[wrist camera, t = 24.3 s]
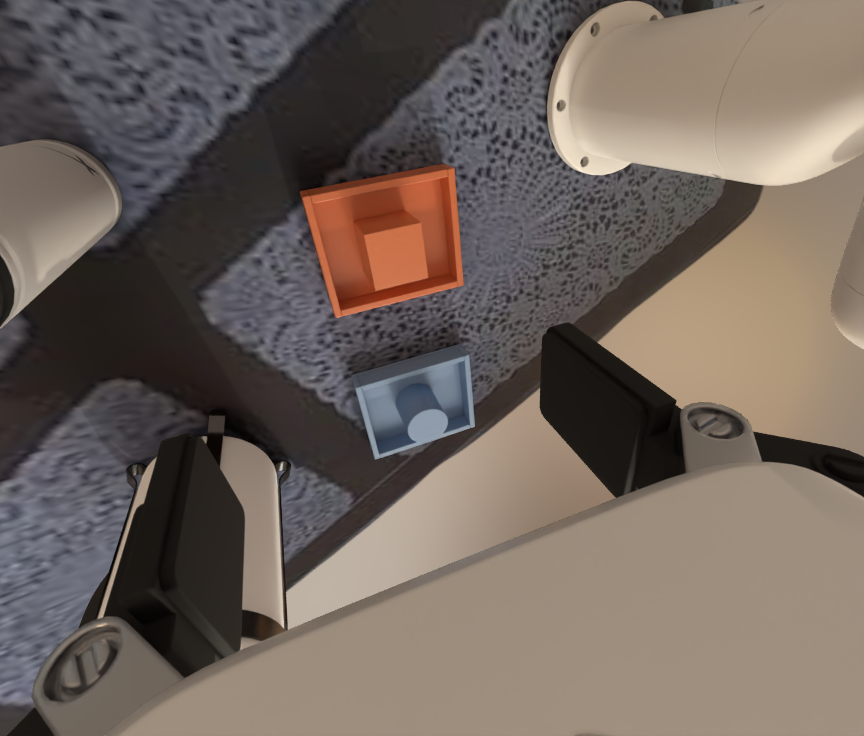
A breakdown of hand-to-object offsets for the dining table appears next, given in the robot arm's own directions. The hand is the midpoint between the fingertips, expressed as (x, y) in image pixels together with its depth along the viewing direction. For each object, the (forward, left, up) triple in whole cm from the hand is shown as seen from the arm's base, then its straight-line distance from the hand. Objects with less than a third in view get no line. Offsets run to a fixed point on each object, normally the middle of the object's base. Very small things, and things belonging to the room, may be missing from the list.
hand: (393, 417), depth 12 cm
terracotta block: (-6, +4, -28) cm, 29 cm away
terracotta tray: (-6, +4, -28) cm, 29 cm away
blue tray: (-6, +22, -28) cm, 36 cm away
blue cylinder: (-6, +22, -28) cm, 36 cm away
